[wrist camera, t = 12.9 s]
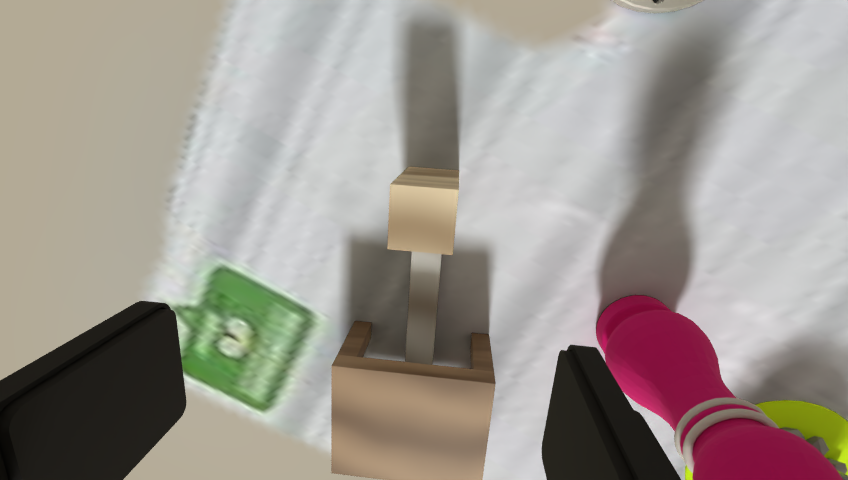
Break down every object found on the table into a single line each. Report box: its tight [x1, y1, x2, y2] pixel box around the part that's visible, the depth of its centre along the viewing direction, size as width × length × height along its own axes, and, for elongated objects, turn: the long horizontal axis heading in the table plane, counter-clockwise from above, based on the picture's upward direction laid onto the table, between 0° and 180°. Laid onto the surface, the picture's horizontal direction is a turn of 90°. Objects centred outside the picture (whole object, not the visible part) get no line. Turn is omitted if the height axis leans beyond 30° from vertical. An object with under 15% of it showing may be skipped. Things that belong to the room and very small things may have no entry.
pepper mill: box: [596, 295, 843, 480], centre depth 25 cm, size 7×7×20 cm
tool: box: [387, 167, 459, 365], centre depth 31 cm, size 17×4×9 cm, turn 176°
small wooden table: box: [332, 321, 495, 480], centre depth 35 cm, size 10×12×7 cm
